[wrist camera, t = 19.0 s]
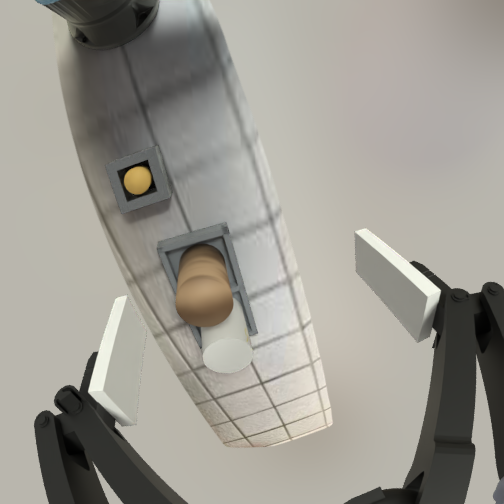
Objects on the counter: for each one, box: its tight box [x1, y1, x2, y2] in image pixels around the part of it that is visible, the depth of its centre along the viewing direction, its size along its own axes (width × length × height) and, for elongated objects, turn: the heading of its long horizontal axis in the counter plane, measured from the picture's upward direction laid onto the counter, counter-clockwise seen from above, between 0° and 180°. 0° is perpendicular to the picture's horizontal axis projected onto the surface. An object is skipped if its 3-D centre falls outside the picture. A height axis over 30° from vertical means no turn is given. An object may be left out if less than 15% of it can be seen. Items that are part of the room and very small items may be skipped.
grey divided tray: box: [157, 222, 258, 349], centre depth 52 cm, size 23×12×3 cm, turn 13°
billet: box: [176, 244, 234, 327], centre depth 44 cm, size 8×8×12 cm
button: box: [124, 165, 153, 194], centre depth 40 cm, size 4×4×3 cm
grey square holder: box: [105, 145, 172, 214], centre depth 41 cm, size 8×8×4 cm
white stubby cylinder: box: [201, 298, 253, 373], centre depth 49 cm, size 8×8×12 cm
